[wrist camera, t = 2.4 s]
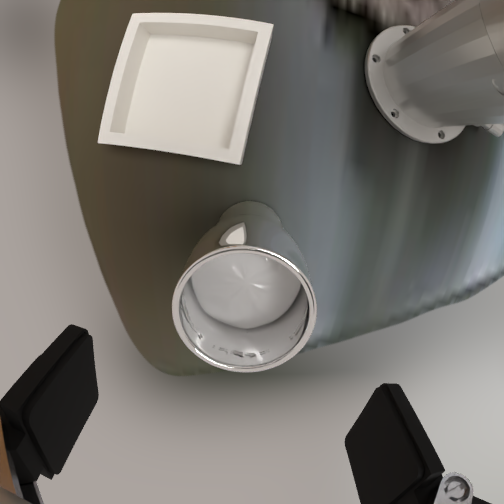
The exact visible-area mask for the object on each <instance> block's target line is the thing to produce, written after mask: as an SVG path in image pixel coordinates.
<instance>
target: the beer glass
mask: <svg viewBox="0 0 504 504" xmlns="http://www.w3.org/2000/svg"><path fill="white" fill-rule="evenodd" d="M172 315H173V321H174V324H175V327H176V330H177V332H178V334H179V336H180V337H181V339H182V341H183V342H184V343H185V345H186V346H187V347H188V348H189V349H190V350H191V351H192V352H193V353H194V354H195V355H197V356H198V357H199V358H201V359H202V360H204V361H205V362H207V363H209V364H211V365H213V366H216V367H218V368H221V369H225V370H229V371H235V372H257V371H263V370H267V369H270V368H273V367H276V366H278V365H280V364H282V363H284V362H286V361H287V360H289V359H290V358H292V357H293V356H294V355H296V354H297V353H298V352H299V351H300V350H301V349H302V348H303V346H304V345H305V344H306V343H307V341H308V339H309V338H310V336H311V334H312V332H313V329H314V326H315V322H316V317H317V303H316V297H315V293H314V290H313V288H312V283H311V279H310V275H309V271H308V267H307V265H306V262H305V259H304V257H303V254H302V252H301V251H300V249H299V247H298V246H297V244H296V242H295V241H294V239H293V238H292V237H291V236H290V235H289V234H288V233H287V232H286V231H285V230H284V229H283V226H282V223H281V220H280V218H279V217H278V215H277V214H276V213H275V211H274V210H273V209H271V208H270V207H269V206H267V205H265V204H263V203H260V202H256V201H243V202H239V203H237V204H234V205H233V206H231V207H230V208H228V209H227V210H226V211H225V212H224V213H223V214H222V216H221V217H220V219H219V221H218V224H217V225H215V226H213V227H212V228H211V229H210V230H208V231H207V232H206V233H205V234H204V235H203V237H202V238H201V239H200V240H199V241H198V243H197V244H196V245H195V247H194V248H193V250H192V252H191V254H190V256H189V258H188V259H187V262H186V264H185V266H184V269H183V271H182V274H181V277H180V279H179V281H178V283H177V285H176V288H175V290H174V294H173V299H172Z"/></svg>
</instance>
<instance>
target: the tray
mask: <svg viewBox="0 0 504 504" xmlns="http://www.w3.org/2000/svg"><path fill="white" fill-rule="evenodd" d="M273 25H274V24H269V23H264V22H258V21H252V20H246V19H239V18H231V17H223V16H213V15H202V14H185V13H135V14H132V17H131V19H130V22H129V25H128V28H127V30H126V33H125V36H124V39H123V42H122V45H121V48H120V51H119V55H118V58H117V61H116V65H115V68H114V72H113V75H112V79H111V83H110V87H109V91H108V95H107V99H106V103H105V108H104V112H103V117H102V122H101V127H100V132H99V138H98V143H104V144H113V145H121V146H129V147H137V148H145V149H152V150H159V151H165V152H172V153H178V154H184V155H190V156H196V157H201V158H207V159H212V160H217V161H223V162H228V163H233V164H238V165H241V164H242V162H243V157H244V153H245V148H246V144H247V140H248V135H249V131H250V127H251V122H252V118H253V114H254V109H255V105H256V101H257V97H258V93H259V88H260V84H261V80H262V76H263V72H264V68H265V64H266V60H267V56H268V52H269V48H270V44H271V39H272V32H273Z"/></svg>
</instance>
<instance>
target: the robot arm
mask: <svg viewBox="0 0 504 504" xmlns="http://www.w3.org/2000/svg"><path fill="white" fill-rule="evenodd" d="M372 59H373V60H375V62H374V61H373V60H372ZM365 77H366V83H367V86H368V89H369V92H370V95H371V97H372V99H373V101H374V103H375V105H376V107H377V108H378V109H379V111H380V112H381V114H382V115H383V117H384V118H385V119H386V120H387V121H388V122H389V123H390V124H391V125H392V126H393V127H394V128H395V129H397V130H398V131H399V132H400V133H402V134H403V135H405V136H407V137H409V138H411V139H412V140H416V141H419V142H422V143H431V144H434V143H443V142H447V141H450V140H452V139H453V138H455V137H457V136H458V135H459V134H460V133H461V132H462V131H463V129H464V127H465V126H466V125H474V126H477V127H478V126H482V127H483V128H484V129H485V130H487V131H488V132H490V133H491V134H493V135H494V136H496V137H499V136H500V135H502V133H503V130H504V125H503V124H504V0H456V1H454V2H453V3H451V4H450V5H448V6H446V7H445V8H443V9H442V10H440V11H439V12H437V13H436V14H434V15H433V16H431V17H430V18H429V19H427V20H426V21H424V22H423V23H421V24H420V25H418V26H417V27H415V26H410V25H398V26H393V27H390V28H388V29H386V30H384V31H382V32H381V33H380V34H379V35H377V36H376V38H375V39H374V40H373V41H372V42H371V44H370V46H369V48H368V50H367V53H366V58H365ZM391 112H392V113H393V117H392V115H391ZM97 400H98V387H97V379H96V371H95V361H94V352H93V340H92V336H91V335H89V334H88V331H87V330H86V329H84V328H81V327H78V326H75V325H69V326H68V327H67V328H66V329H65V330H64V331H63V332H62V333H61V334H60V335H59V336H58V337H57V338H56V340H55V341H54V342H53V343H52V344H51V345H50V346H49V347H48V348H47V349H46V350H45V351H44V353H43V354H42V355H40V356H39V357H38V358H37V359H36V360H35V361H34V362H33V363H32V364H31V365H30V366H29V368H28V369H27V370H26V371H25V372H24V373H23V374H22V376H21V377H20V378H19V379H18V380H17V381H16V383H15V384H14V385H13V386H12V387H11V388H10V390H9V391H8V392H7V393H6V394H5V396H4V397H3V398H2V399H1V401H0V504H44V503H43V500H42V497H41V494H40V491H39V488H38V486H37V483H36V481H37V479H38V477H39V475H40V474H42V475H43V476H45V477H47V478H49V479H52V478H53V476H54V474H59V473H60V472H61V470H62V468H63V466H64V464H65V462H66V460H67V458H68V456H69V454H70V452H71V450H72V448H73V446H74V444H75V442H76V440H77V439H78V436H79V435H80V433H81V431H82V429H83V427H84V425H85V423H86V421H87V419H88V417H89V416H90V414H91V412H92V410H93V409H94V407H95V405H96V403H97ZM345 447H346V450H347V454H348V458H349V461H350V465H351V469H352V472H353V476H354V480H355V483H356V487H357V491H358V495H359V499H360V502H361V504H491V503H488V502H486V501H484V500H481V499H479V498H477V497H474V496H473V486H472V484H471V482H470V480H469V479H468V478H467V477H466V476H464V475H462V474H459V473H456V472H455V473H449V474H446V475H445V476H444V477H442V473H443V472H444V471H445V469H444V467H443V465H442V463H441V461H440V459H439V457H438V455H437V453H436V451H435V449H434V447H433V445H432V443H431V441H430V439H429V438H428V436H427V434H426V432H425V430H424V428H423V426H422V424H421V422H420V421H419V419H418V417H417V415H416V413H415V411H414V410H413V408H412V406H411V405H410V402H409V401H408V399H407V397H406V396H405V394H404V392H403V390H402V388H401V387H400V386H399V384H387V383H384V384H382V385H380V387H378V388H376V390H375V391H374V393H373V395H372V396H371V398H370V399H369V401H368V403H367V404H366V406H365V408H364V409H363V411H362V413H361V414H360V416H359V417H358V419H357V420H356V422H355V423H354V425H353V426H352V428H351V429H350V431H349V433H348V434H347V436H346V438H345Z"/></svg>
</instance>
